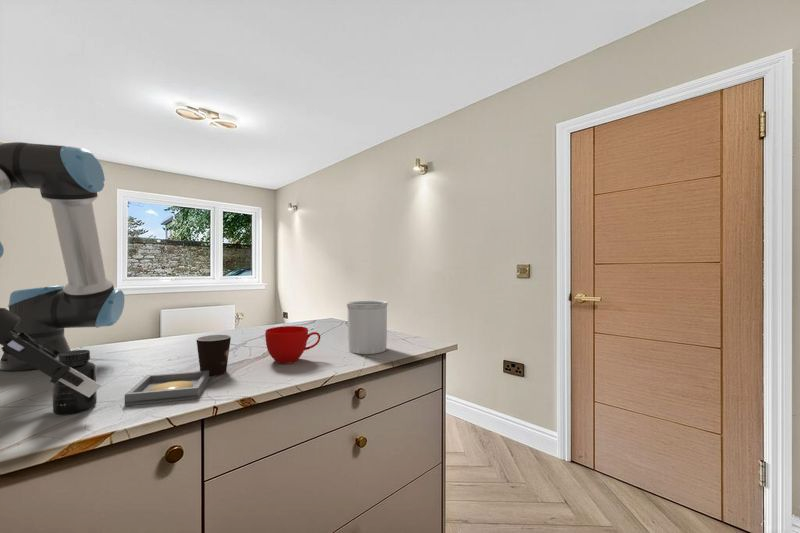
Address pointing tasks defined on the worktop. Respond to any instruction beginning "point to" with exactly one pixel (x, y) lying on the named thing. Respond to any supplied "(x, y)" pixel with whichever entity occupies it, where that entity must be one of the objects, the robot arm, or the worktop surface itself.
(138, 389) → the tray
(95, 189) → the robot arm
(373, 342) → the utensil holder
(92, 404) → the supplement bottle
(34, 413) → the worktop surface
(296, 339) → the ceramic cup
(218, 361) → the coffee mug
